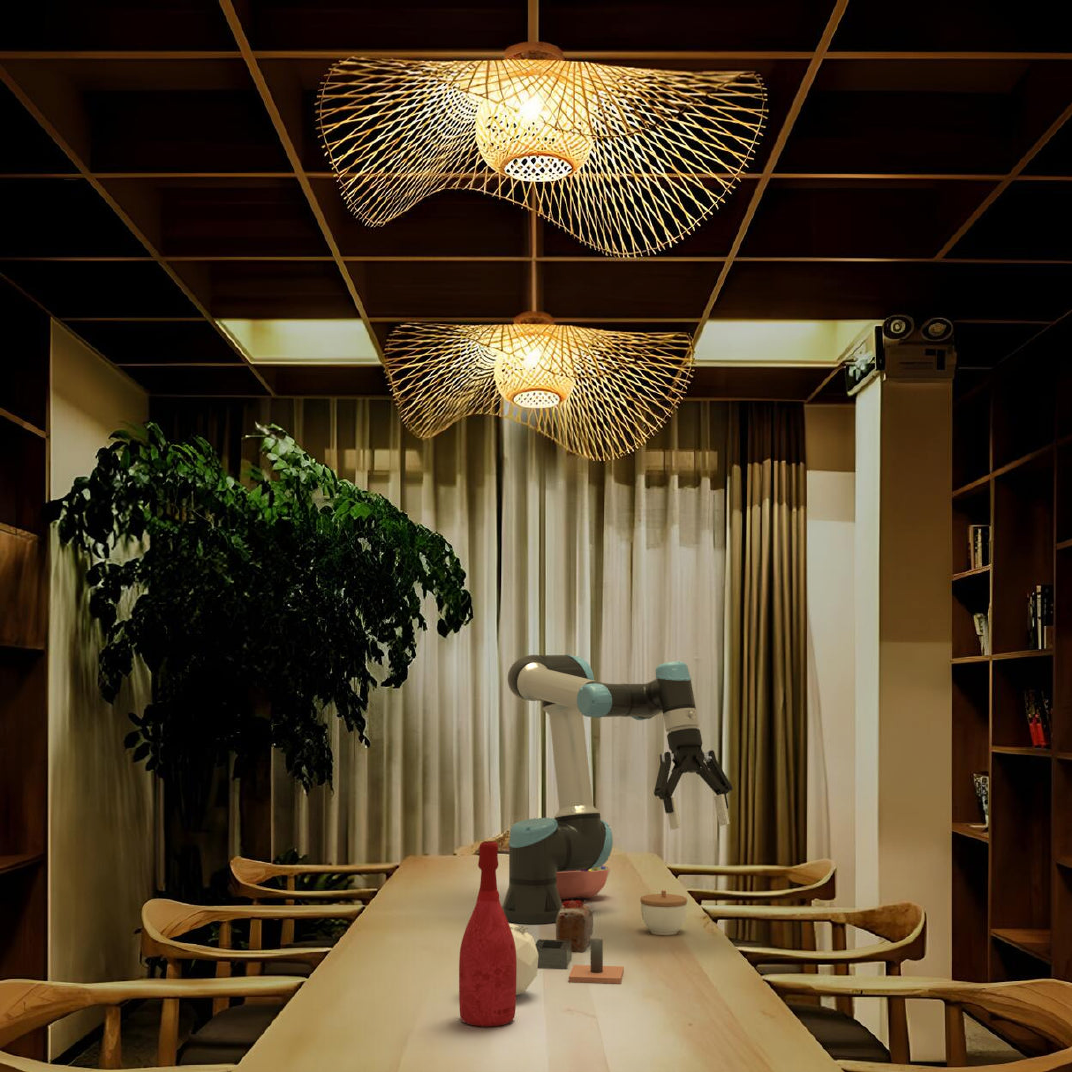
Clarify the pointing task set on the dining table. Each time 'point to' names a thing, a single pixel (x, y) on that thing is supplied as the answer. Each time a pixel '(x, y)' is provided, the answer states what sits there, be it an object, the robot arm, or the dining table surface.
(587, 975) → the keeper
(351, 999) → the dining table surface
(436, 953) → the dining table surface
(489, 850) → the wine bottle
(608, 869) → the cell model
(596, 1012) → the dining table surface
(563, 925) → the food item
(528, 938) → the geodesic sphere
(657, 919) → the lidded jar
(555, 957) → the grey hollow block
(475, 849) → the dining table surface
